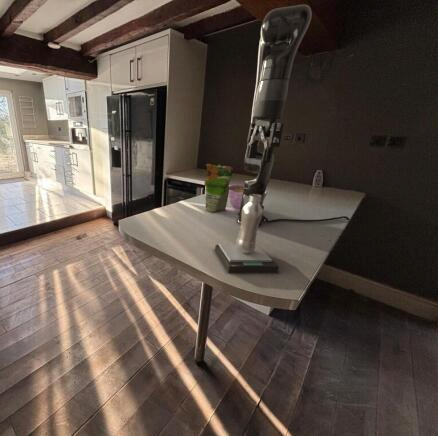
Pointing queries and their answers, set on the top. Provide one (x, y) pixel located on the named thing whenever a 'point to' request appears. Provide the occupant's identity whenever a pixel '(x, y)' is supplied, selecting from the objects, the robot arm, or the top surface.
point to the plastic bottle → (249, 224)
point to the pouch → (217, 187)
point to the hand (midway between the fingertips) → (258, 160)
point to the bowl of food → (237, 195)
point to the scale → (245, 260)
